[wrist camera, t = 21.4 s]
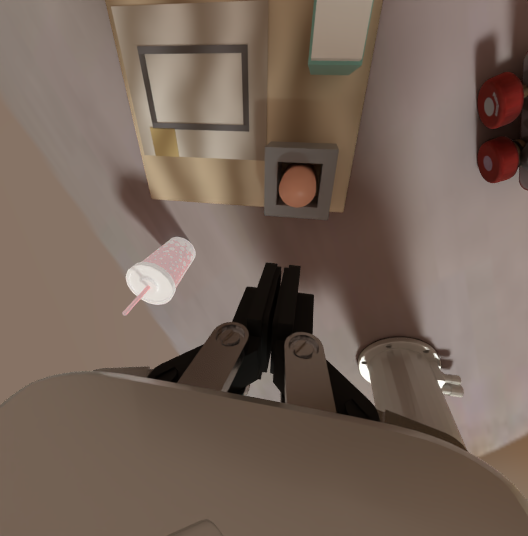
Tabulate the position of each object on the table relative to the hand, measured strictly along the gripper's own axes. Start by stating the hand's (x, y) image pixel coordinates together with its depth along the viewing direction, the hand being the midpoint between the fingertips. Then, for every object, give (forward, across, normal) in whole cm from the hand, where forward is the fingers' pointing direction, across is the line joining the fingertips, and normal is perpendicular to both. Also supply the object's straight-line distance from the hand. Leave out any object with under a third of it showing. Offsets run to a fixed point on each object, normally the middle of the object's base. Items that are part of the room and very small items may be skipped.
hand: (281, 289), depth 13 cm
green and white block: (+21, -1, -12) cm, 24 cm away
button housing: (+21, 0, -1) cm, 21 cm away
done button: (+20, +1, -1) cm, 20 cm away
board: (+21, +8, -7) cm, 24 cm away
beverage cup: (+22, +18, +11) cm, 30 cm away
